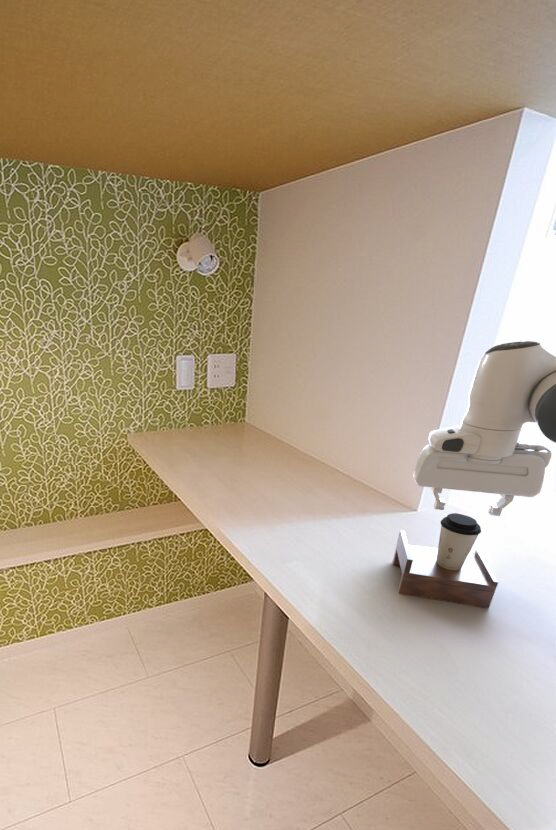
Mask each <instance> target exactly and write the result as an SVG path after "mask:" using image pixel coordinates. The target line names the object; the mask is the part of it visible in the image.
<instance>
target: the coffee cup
mask: <svg viewBox="0 0 556 830" xmlns="http://www.w3.org/2000/svg"><path fill="white" fill-rule="evenodd" d="M439 531H440V532H439V539H438V544H437V545H438V546H437V548H438V552H437V560H436V562H437V563H438V564H439V565H440V566H441V567H443V568H446V569H450V570H459V569H461V568H462V566H463V564H464V562H465V560H466V558H467V556H468V554H469V553H471V550H472V547H473V546H474V544H475V542H476V540H477V538H478V537H479V535H480V534H481V533H482V528H481V526H480V524H479V523H478V521H477V520H476V519H475V518H473V517H471V516H469V515H466V514H461V513H458V512H457V513H455V512H454V513H453V512H452V513H449V514H447V516H445V517H443V518H442V519H441V520H440V530H439Z"/></svg>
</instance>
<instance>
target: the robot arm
mask: <svg viewBox="0 0 556 830" xmlns="http://www.w3.org/2000/svg"><path fill="white" fill-rule="evenodd" d="M525 423H536V424H537V425H538V429H539V430H540V431H541V433H542V434H543V436H544V437H546V438H547V440H549V441H551V442H553V443H555V444H556V354H554V353H552V352H551V351H550V350H548V349H547V348H545V347H544V345H542V343H541V342H538V341H534V340H533V341H529V340H528V341H527V340H526V341H512V342H506V343H505V342H504V343H501V344H497V345H495V346H492V347H490V348H489V349H487V351H485V352H484V353H483V355H482V356H481V358H480V360H479V362H478V365H477V367H476V370H475V372H474V375H473V377H472V381H471V384H470V388H469V392H468V405H467V409H466V411H465V413H464V415H463V417H462V419H461V422H460V425H459V424H458V425H454V426H449V427H445V428H439V429H435V430H432V431H430V432H429V434H428V442H429V444H427V445H425V446H424V447H423V448H422V450H421V451H420V454H419V456H418V458H417V461H416V464H415V467H414V471H413V480H414V481H415V484H417V486H418V487H424V488H430V489H431V492H432V495H433V497H434V502H433V508H434V510H439V511H440V510H441V511H444V510H445V506H446V503H447V502H446V500H445V498H441V497H440V495H439V494H442V492H443V490H454V491H462V492H463V491H464V492H473V493H484V494H493V495H494V494H495V495H500V496H501V498H500V499H499V500H498V501H497V502H496V503H490V504H489V509H488V514H489V516H494V517H500V516H501V515H502V511H503V509H504V508H505V507H507V506H508V505H509V504H511V502H513V501H514V498H515V497H523V498H534V497H536V496H537V495H539V494H540V492H541V491H542V487H543V484H544V479H545V473H546V468H547V467H548V466H549V464H550V462H551V458H552V452H551V449H549V447H547V446H545V445H544V444H539V443H534V444H532V443H525V442H518V440H519V437H520V433H521V432H522V431H521V430H522V428H523V425H524V424H525Z"/></svg>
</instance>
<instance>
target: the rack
mask: <svg viewBox="0 0 556 830" xmlns="http://www.w3.org/2000/svg"><path fill="white" fill-rule="evenodd" d="M396 541H397V542H396V546H395V550H394V554H393V558H392V565H394V566H399V567H400V570H401V576H400V580H399V584H398V588H397V592H398V594H401V595H407V596H412V597H419V598H424V599H430V600H436V601H442V602H448V603H455V604H460V605H466V606H472V607H477V608H483V609H489V608H490V606H491V604H492V601H493V598H494V595H495V593H496V590H497V587H498V585H499V581H498V580H497V579H498V578H497V577H496V576H495V573H494V572H493V571H492V569H491V567H490V564H489V563H488V561H487V560H486V558H485V556H484V554H483V552H482V551H481V549H475V552H474V553H472V552H469V554H468V556H467V558H466V560H465V562H464V564H463V566H462V568H461V569H459V570H450V569H446V568H443V567H441V566H440V565H439V564H438V563H437V562H436V560H437V552H438V547H433V546H432V547H430V546H425V545H424V546H423V545H416V544H410V543H409V540H408V536H407V534H406V530H399V533H398V538H397V540H396Z"/></svg>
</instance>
